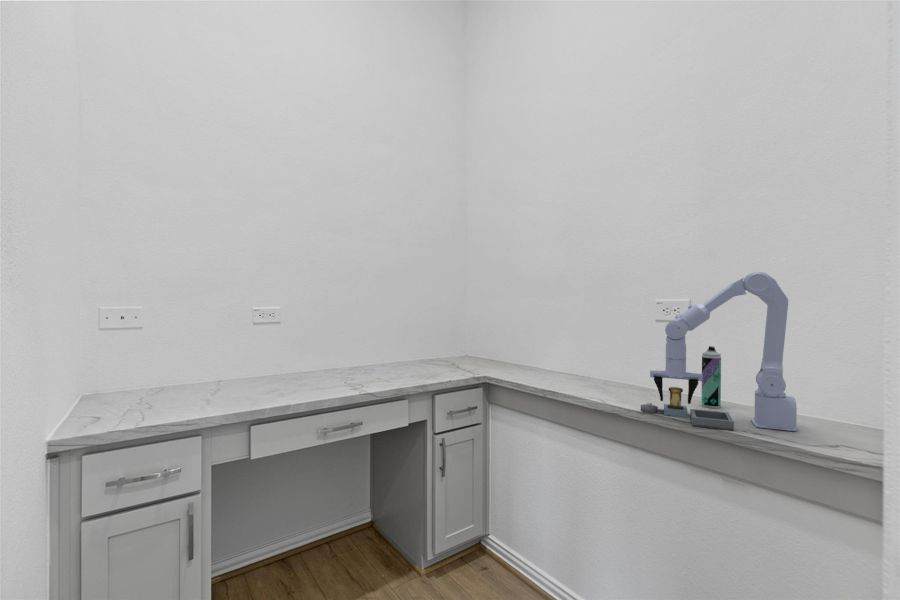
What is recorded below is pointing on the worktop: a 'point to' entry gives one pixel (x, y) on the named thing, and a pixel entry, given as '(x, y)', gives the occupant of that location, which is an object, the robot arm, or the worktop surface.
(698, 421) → the tray
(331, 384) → the worktop surface
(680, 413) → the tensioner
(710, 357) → the spray can
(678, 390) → the pin
